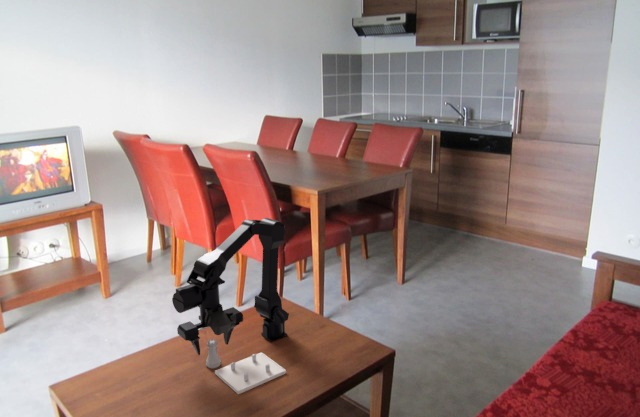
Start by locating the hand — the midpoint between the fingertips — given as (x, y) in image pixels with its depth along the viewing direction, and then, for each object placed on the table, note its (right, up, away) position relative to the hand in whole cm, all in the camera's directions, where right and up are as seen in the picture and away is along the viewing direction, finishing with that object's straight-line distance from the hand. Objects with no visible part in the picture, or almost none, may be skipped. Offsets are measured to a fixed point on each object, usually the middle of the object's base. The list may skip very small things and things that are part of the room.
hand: (212, 349), depth 160 cm
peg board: (+12, -6, -3) cm, 14 cm away
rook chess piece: (0, -5, +1) cm, 5 cm away
